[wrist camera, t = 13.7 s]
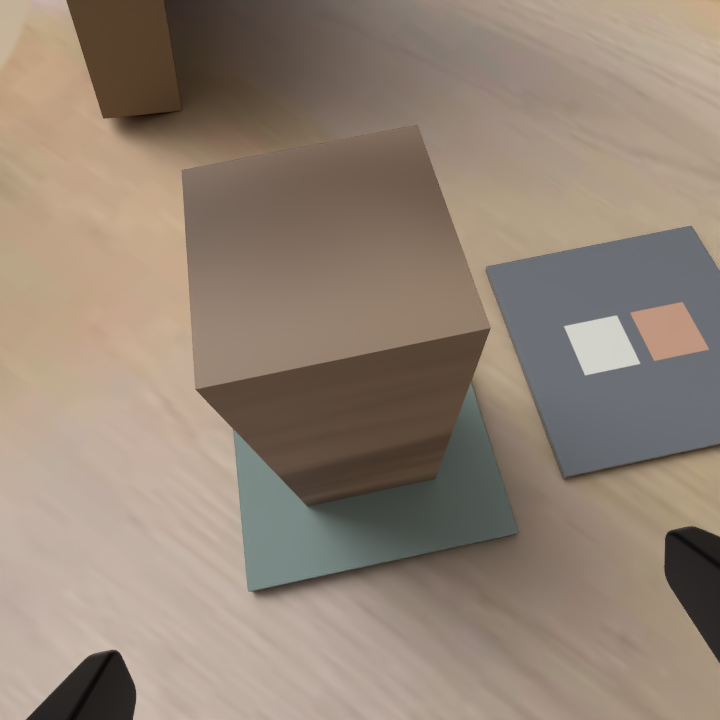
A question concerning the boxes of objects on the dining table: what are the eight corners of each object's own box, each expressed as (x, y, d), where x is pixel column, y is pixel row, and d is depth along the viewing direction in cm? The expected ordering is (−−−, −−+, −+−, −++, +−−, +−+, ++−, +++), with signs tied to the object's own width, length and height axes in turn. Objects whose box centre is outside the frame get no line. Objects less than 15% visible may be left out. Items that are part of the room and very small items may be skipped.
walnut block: (435, 478, 19) (490, 327, 8) (307, 506, 19) (195, 389, 8) (404, 363, 21) (417, 124, 11) (289, 387, 21) (181, 170, 10)
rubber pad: (516, 534, 19) (518, 532, 18) (251, 591, 18) (247, 591, 18) (444, 308, 23) (445, 303, 23) (229, 352, 23) (225, 347, 22)
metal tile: (808, 425, 20) (814, 423, 19) (562, 477, 19) (565, 476, 19) (688, 229, 24) (691, 225, 24) (485, 270, 24) (486, 266, 23)
